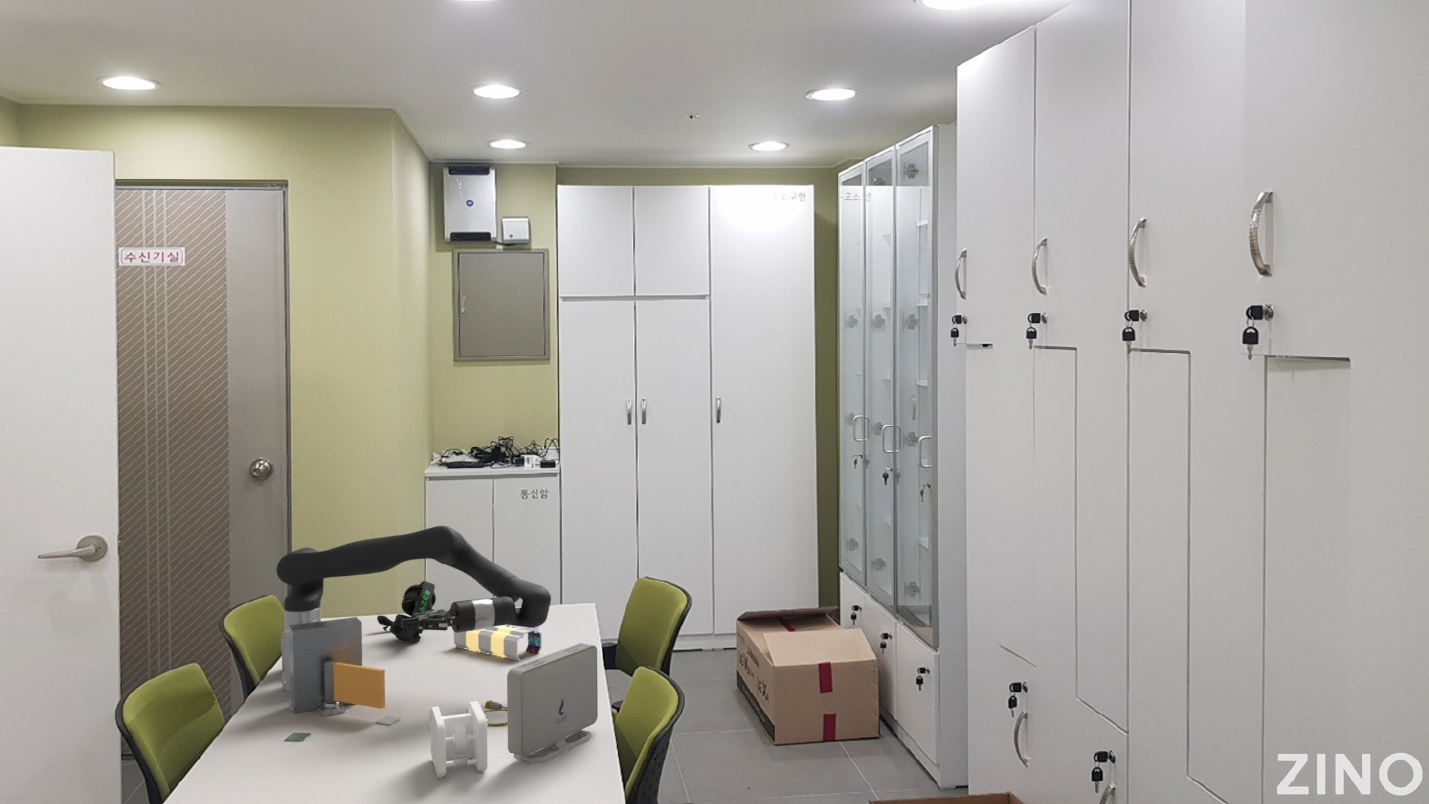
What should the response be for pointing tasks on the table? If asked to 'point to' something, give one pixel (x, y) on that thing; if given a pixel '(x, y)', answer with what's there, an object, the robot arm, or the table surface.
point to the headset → (411, 611)
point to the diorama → (499, 640)
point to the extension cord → (496, 706)
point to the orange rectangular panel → (354, 684)
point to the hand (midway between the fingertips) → (401, 624)
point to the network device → (552, 701)
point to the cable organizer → (458, 738)
